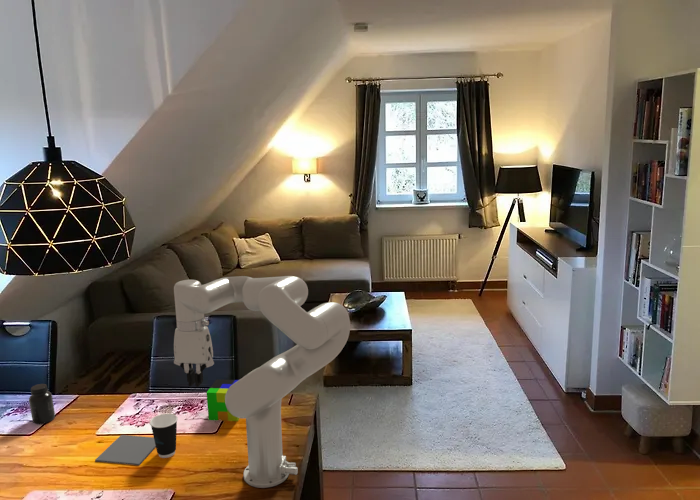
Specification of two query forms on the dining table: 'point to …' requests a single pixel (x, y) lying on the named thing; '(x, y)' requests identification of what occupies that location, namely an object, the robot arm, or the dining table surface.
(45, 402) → the supplement bottle
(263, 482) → the robot arm
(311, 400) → the dining table surface
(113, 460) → the charcoal mat
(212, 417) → the puzzle toy
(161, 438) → the dixie cup
